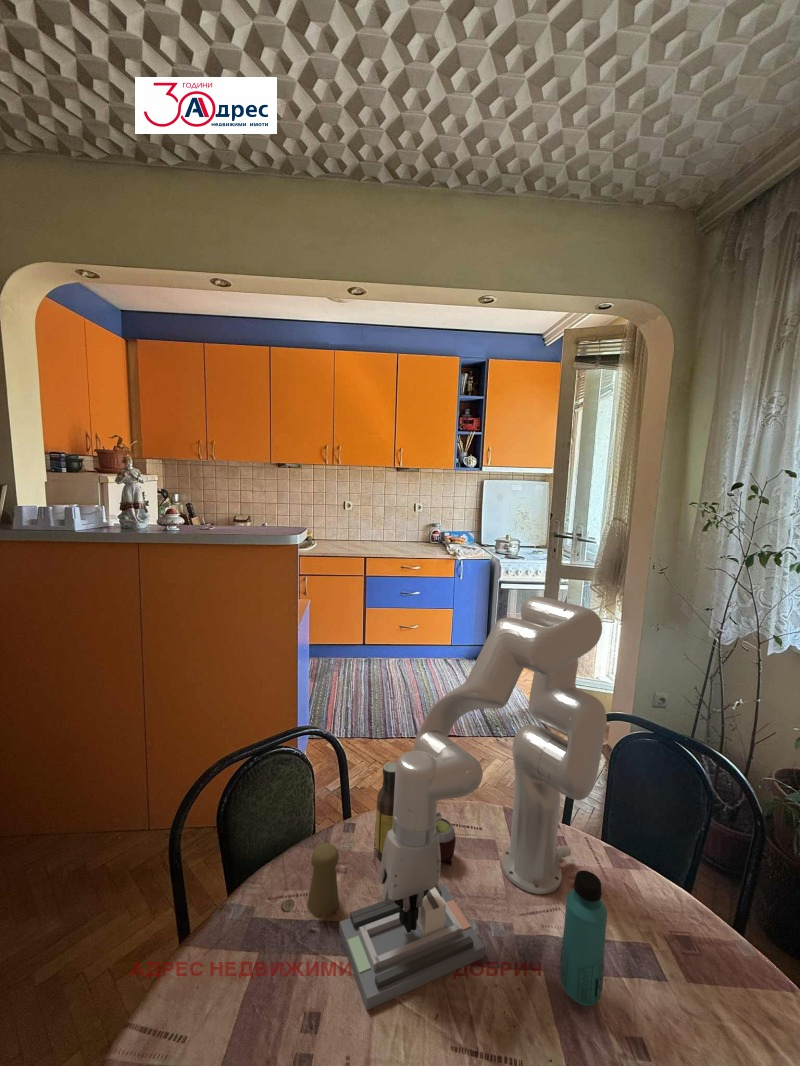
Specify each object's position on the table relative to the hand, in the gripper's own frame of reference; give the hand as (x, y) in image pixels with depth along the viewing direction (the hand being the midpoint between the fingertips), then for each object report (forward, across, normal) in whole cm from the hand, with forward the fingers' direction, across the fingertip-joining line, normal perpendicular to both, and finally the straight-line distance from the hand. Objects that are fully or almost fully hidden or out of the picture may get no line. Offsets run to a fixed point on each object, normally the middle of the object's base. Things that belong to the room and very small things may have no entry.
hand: (408, 924), depth 81 cm
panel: (+4, -1, 0) cm, 4 cm away
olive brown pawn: (+4, +11, -14) cm, 19 cm away
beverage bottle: (+4, -23, +18) cm, 29 cm away
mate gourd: (+4, -15, -15) cm, 21 cm away
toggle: (+2, -4, 0) cm, 5 cm away
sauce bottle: (+4, -6, -21) cm, 22 cm away
